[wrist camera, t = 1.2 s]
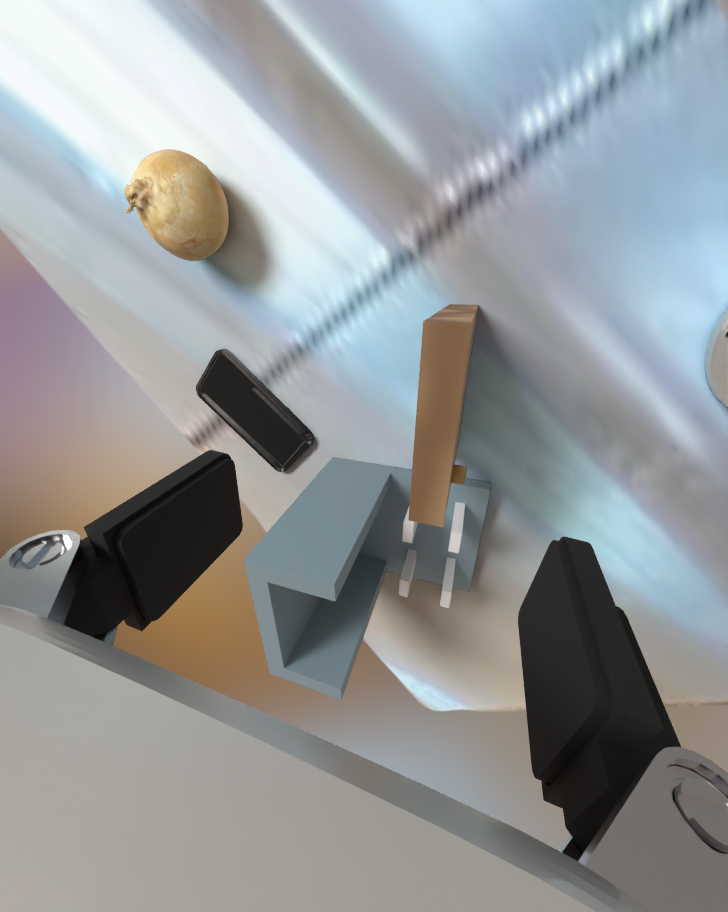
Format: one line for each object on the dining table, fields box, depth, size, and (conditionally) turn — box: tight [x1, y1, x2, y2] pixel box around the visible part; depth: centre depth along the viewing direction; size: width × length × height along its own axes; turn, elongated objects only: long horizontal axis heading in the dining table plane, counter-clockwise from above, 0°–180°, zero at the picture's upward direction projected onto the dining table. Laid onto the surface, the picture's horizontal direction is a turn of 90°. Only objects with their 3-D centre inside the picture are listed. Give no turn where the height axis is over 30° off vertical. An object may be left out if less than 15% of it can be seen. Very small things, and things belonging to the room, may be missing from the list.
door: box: [408, 304, 478, 527], centre depth 26 cm, size 3×13×14 cm, turn 0°
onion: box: [125, 149, 229, 261], centre depth 29 cm, size 8×8×7 cm
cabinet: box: [244, 457, 491, 700], centre depth 34 cm, size 18×15×18 cm
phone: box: [196, 349, 314, 472], centre depth 41 cm, size 8×1×15 cm
